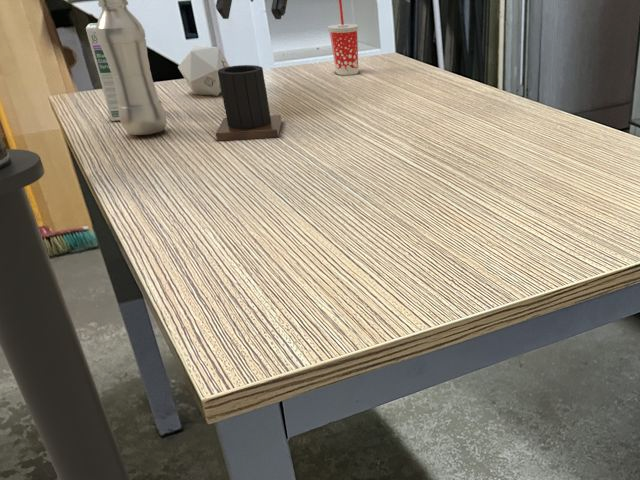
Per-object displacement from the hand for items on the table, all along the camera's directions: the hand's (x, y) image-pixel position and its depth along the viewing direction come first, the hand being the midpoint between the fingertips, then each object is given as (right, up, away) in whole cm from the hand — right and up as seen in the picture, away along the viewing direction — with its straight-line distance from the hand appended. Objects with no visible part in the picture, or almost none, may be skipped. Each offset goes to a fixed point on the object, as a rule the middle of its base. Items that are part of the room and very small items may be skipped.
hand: (249, 15), depth 108 cm
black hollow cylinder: (-1, -16, +3) cm, 16 cm away
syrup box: (-24, -12, +12) cm, 29 cm away
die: (-15, -2, +26) cm, 30 cm away
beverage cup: (+8, +7, +40) cm, 42 cm away
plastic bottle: (-17, -17, +3) cm, 24 cm away
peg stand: (-1, -17, +3) cm, 17 cm away
